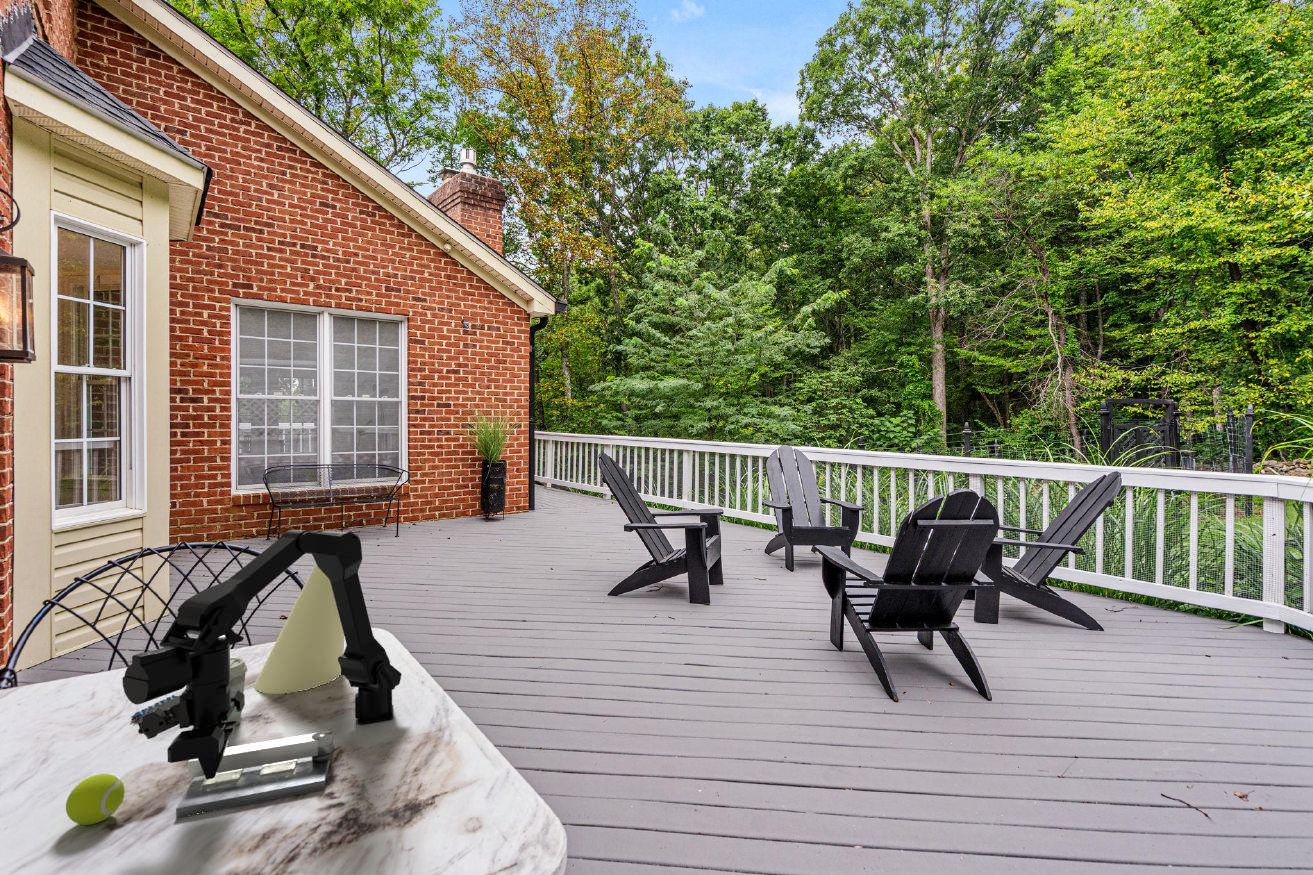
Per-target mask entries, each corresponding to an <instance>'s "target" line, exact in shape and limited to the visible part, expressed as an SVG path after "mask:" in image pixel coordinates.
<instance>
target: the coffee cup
mask: <svg viewBox="0 0 1313 875" xmlns="http://www.w3.org/2000/svg"><path fill="white" fill-rule="evenodd" d="M247 672H248V665H247V664H246V662H245V660H244V659H243V658H240V657H230V677H233V676H234V683H233V685H232V686H231V691H236V690H239V691H240V692H241V693H243V694H244V693H245V692H244V691H245V683H246V673H247ZM242 711H243V710H242ZM242 711H240V712H237V710H236V707H234V709H233V711H232V713H231V715H230V717H229V718H228V720H227V721H226V722H230V721H237V723H236V726H237V725H239V724H240V723H241V722H242V721H241V718H242Z"/></svg>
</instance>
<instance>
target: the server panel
mask: <svg viewBox="0 0 1313 875" xmlns="http://www.w3.org/2000/svg"><path fill="white" fill-rule="evenodd" d="M333 750H334V749H333ZM333 750H332V751H331V752H329V753H327V754H325V755H319V756H313V757H307V758H301V759H296V760H290V761H284V762H279V763H273V764H267V765H262V766H256V767H251V768H245V769H239V770H234V771H228V772H222V773H217V774H216V776H215V777H214V778H212V779H206V777H205V776H200V777H194V778H192V780H191V782H190V784H188V787H187V788H186V791H185V793H184V794H183V795H182V798H181V799H180V801H179V803H178V804H177V806H176V807H175V814H176V815H175V818H176V819H179V817H181V818H186V817H189V816H188V815H191V816H194V815H193V814H196V815H198V814H197V813H201V814H203V813H202V812H207V813H210V811H212V812H214V811H213V810H217V811H220V810H219V809H222V810H224V809H223V808H227V809H230V808H236V807H241V806H248V805H252V804H256V803H263V802H267V801H273V800H277V799H283V798H288V797H292V796H297V795H298V796H299V795H303V794H308V793H314V792H319V791H323V790H325V789H326V786H327V785H326V784H327V778H328V775H329V768H330V764H331V763H330V762H331V759H333V756H334V752H333Z"/></svg>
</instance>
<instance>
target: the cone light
mask: <svg viewBox="0 0 1313 875" xmlns="http://www.w3.org/2000/svg"><path fill="white" fill-rule="evenodd" d="M290 611H291V612H289V615H288V617H287V619H286V621H285V623H284V625H283V627H282V629H281V630H280V633H279V635H278V637H277V639H276V641H275V643H274V644H273V647H272V649H271V650H270V653H269V655H268V656H267V659H266V661H265V662H264V665H263V666H262V669H260V670H261V671H260V672H259V674H258V677H257V679H256V680H255V683H254V685H253V689H254V688H255V689H256V690H255V689H254V690H255V691H257V690H258V691H259V693H261V692H263V693H262V694H269V695H285V693H287V694H291V693H290V692H295V693H298V692H297V691H300V690H305V689H308V688H313V687H316V686H319V685H323V684H325V683H328V682H330V681H332V680H333V679H335V678H337V677H338V676H339V675H340V674H341V667H340V664H339V662H338V657H340V656H342V655H343V654H344V651H345V648H344V647H345V636H344V632H343V629H342V625H341V621H340V617H339V613H338V609H337V606H336V602H335V598H334V594H333V590H332V586H331V583H330V580H329V578H328V577H327V576H326V575H325V574H324V573H323V572H322V571H321V570H320V569H319V568H318V566H317V564H316V562H315V564H314V566H312V569H311V572H310V574H309V575H308V577H307V579H306V581H305V583H304V585H303V587H302V589H301V591H300V593H299V595H298V597H297V599H296V601H295V603H294V605H293V608H292V609H291V610H290ZM337 679H338V678H337ZM332 682H333V681H332ZM330 683H331V682H330ZM328 684H329V683H328ZM323 686H324V685H323ZM258 691H257V692H258Z"/></svg>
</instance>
